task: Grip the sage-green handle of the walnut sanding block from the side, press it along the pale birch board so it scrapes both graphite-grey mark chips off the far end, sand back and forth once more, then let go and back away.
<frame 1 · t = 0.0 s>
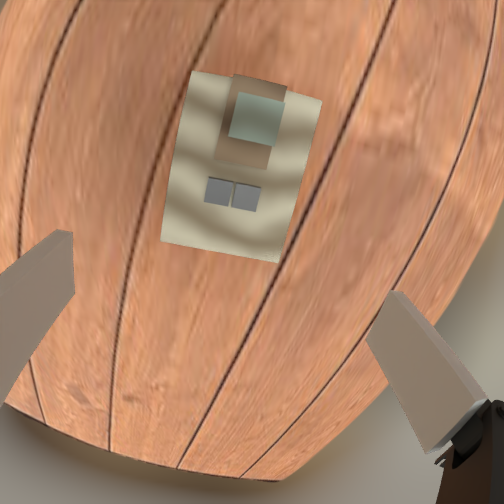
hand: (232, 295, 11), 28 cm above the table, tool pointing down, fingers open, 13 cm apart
sanding block: (248, 121, 33), point 1 cm above the table, touching board
board: (237, 168, 36), on the table
mark tile 1: (218, 190, 36), point 1 cm above the table, touching board
mark tile 2: (245, 196, 36), point 1 cm above the table, touching board
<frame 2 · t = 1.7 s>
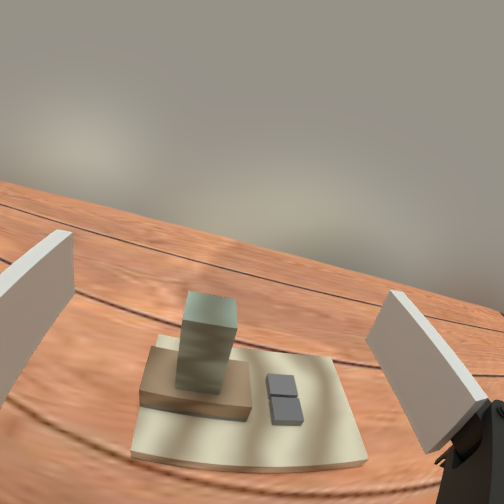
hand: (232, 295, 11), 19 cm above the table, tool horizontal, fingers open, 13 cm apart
sanding block: (195, 392, 27), point 1 cm above the table, touching board
board: (250, 407, 28), on the table
mark tile 1: (284, 414, 27), point 1 cm above the table, touching board
mark tile 2: (279, 389, 30), point 1 cm above the table, touching board
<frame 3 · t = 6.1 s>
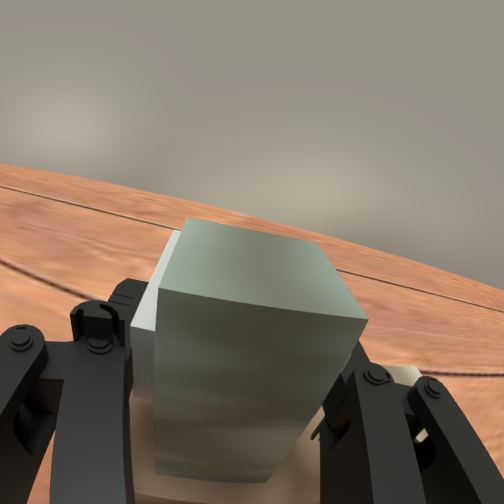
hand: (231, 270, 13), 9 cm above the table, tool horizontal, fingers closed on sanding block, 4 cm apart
sanding block: (204, 463, 11), point 1 cm above the table, touching board, gripper
board: (312, 475, 12), on the table
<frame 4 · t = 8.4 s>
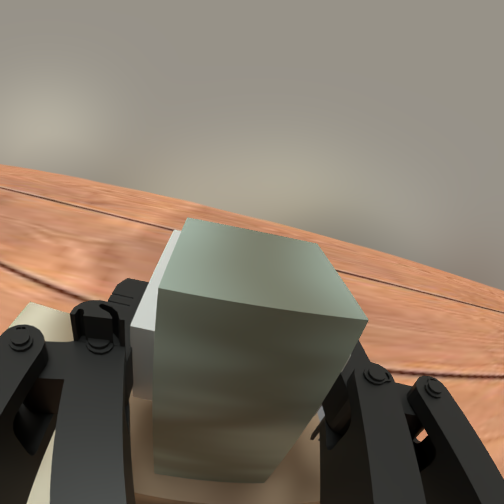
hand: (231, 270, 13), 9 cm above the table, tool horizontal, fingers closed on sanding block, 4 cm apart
sanding block: (203, 463, 11), point 2 cm above the table, touching gripper
board: (148, 450, 12), on the table
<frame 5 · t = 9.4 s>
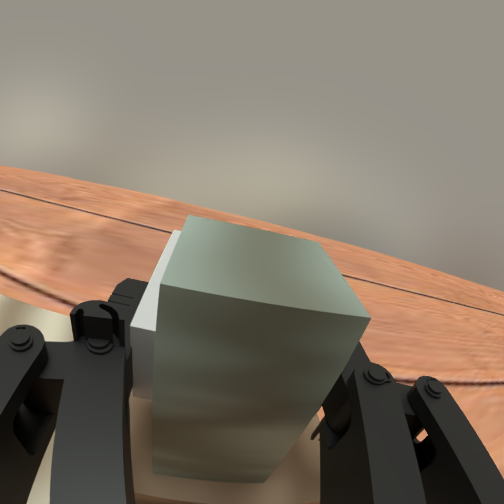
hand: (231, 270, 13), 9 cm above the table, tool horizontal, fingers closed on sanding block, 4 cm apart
sanding block: (201, 463, 11), point 2 cm above the table, touching gripper
board: (52, 427, 11), on the table
when the fingers open (9 cm above the table, at t = 16.7 s): sanding block stays where it is, resting on board.
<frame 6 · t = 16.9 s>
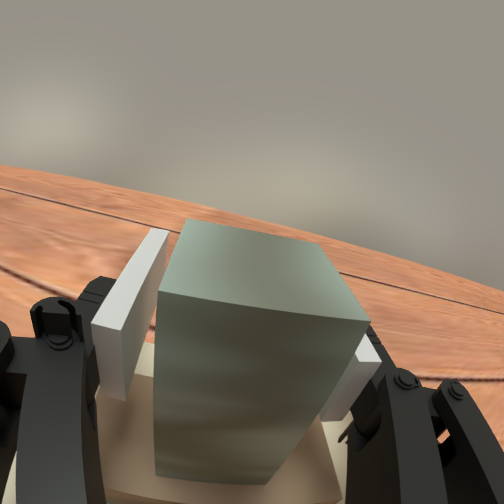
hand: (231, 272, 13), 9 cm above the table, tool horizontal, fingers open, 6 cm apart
sanding block: (204, 465, 11), point 1 cm above the table, touching board
board: (200, 474, 12), on the table
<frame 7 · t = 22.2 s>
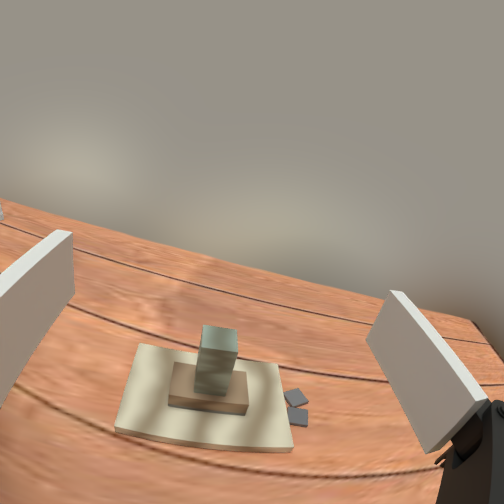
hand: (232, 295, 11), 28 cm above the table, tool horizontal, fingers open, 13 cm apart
sanding block: (207, 395, 37), point 1 cm above the table, touching board
board: (205, 400, 37), on the table
mark tile 1: (295, 419, 38), on the table
mark tile 2: (293, 401, 41), on the table
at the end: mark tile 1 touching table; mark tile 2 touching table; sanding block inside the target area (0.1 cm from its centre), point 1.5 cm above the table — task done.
